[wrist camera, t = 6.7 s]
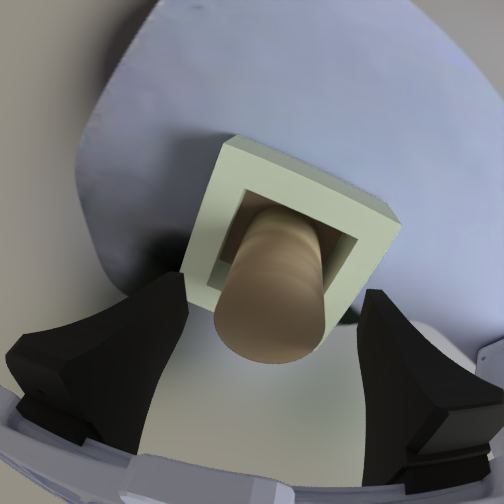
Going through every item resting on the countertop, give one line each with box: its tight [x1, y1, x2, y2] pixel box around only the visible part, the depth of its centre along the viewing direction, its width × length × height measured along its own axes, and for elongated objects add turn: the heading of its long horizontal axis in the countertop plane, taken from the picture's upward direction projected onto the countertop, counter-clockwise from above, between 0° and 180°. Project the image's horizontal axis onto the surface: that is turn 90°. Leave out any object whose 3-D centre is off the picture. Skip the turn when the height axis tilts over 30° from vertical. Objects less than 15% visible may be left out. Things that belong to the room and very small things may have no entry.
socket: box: [180, 134, 402, 351], centre depth 16 cm, size 8×8×3 cm
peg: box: [214, 205, 325, 364], centre depth 14 cm, size 4×4×7 cm
